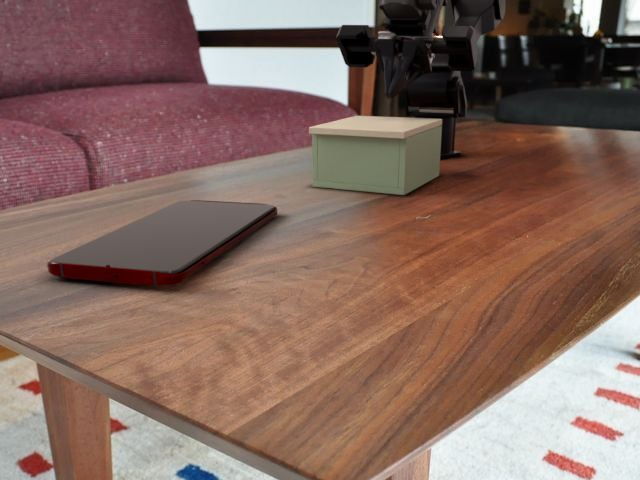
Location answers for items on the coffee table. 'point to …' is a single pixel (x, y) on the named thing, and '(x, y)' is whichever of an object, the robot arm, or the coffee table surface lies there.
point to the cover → (376, 126)
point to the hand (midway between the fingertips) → (388, 96)
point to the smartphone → (164, 243)
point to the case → (376, 162)
